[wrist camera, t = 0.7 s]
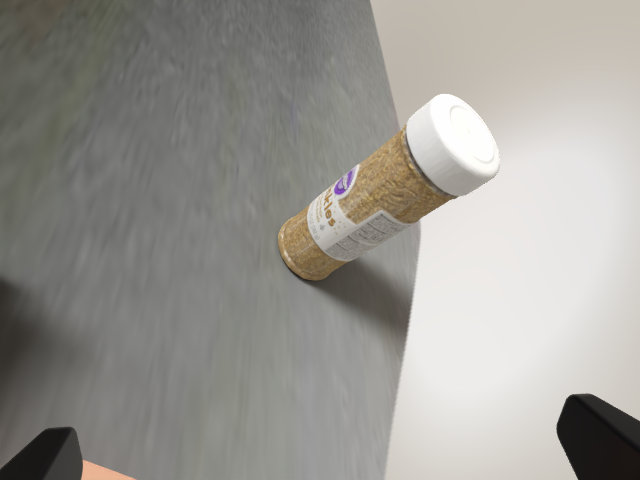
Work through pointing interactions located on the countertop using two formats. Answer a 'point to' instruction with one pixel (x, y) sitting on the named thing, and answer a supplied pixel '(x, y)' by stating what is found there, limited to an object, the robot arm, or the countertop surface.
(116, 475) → the terracotta cube
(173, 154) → the countertop surface
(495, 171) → the sprinkles bottle
